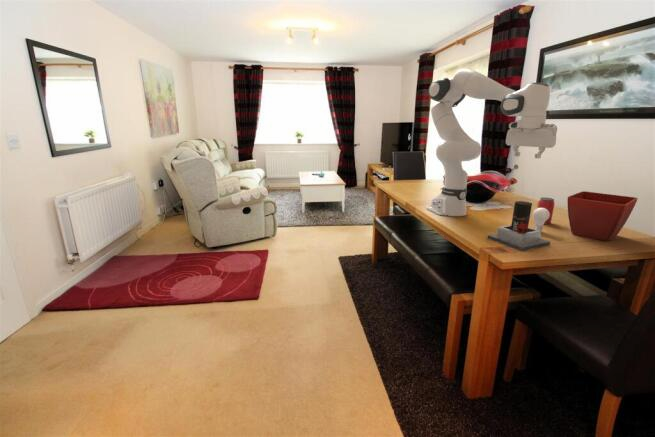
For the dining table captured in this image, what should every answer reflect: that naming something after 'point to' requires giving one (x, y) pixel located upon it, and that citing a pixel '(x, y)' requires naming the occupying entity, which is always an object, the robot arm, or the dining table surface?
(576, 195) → the plant pot
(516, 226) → the deodorant
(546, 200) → the beer can
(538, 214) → the lightbulb
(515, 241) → the collar holder
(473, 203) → the dining table surface
